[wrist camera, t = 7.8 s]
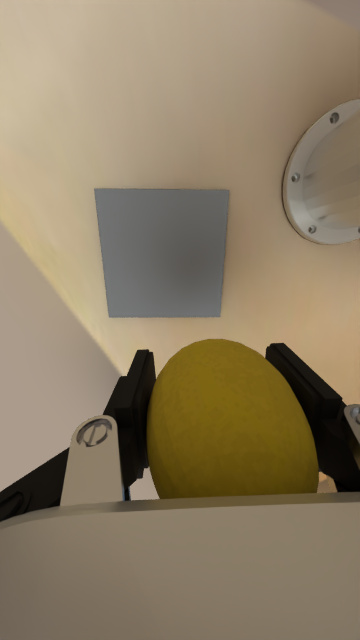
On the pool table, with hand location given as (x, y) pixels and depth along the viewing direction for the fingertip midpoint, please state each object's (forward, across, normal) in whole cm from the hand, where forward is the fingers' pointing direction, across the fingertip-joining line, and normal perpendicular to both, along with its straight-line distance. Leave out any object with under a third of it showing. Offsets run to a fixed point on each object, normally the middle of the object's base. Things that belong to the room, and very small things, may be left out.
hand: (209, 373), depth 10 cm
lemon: (+1, 0, 0) cm, 2 cm away
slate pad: (+16, +3, -5) cm, 17 cm away
